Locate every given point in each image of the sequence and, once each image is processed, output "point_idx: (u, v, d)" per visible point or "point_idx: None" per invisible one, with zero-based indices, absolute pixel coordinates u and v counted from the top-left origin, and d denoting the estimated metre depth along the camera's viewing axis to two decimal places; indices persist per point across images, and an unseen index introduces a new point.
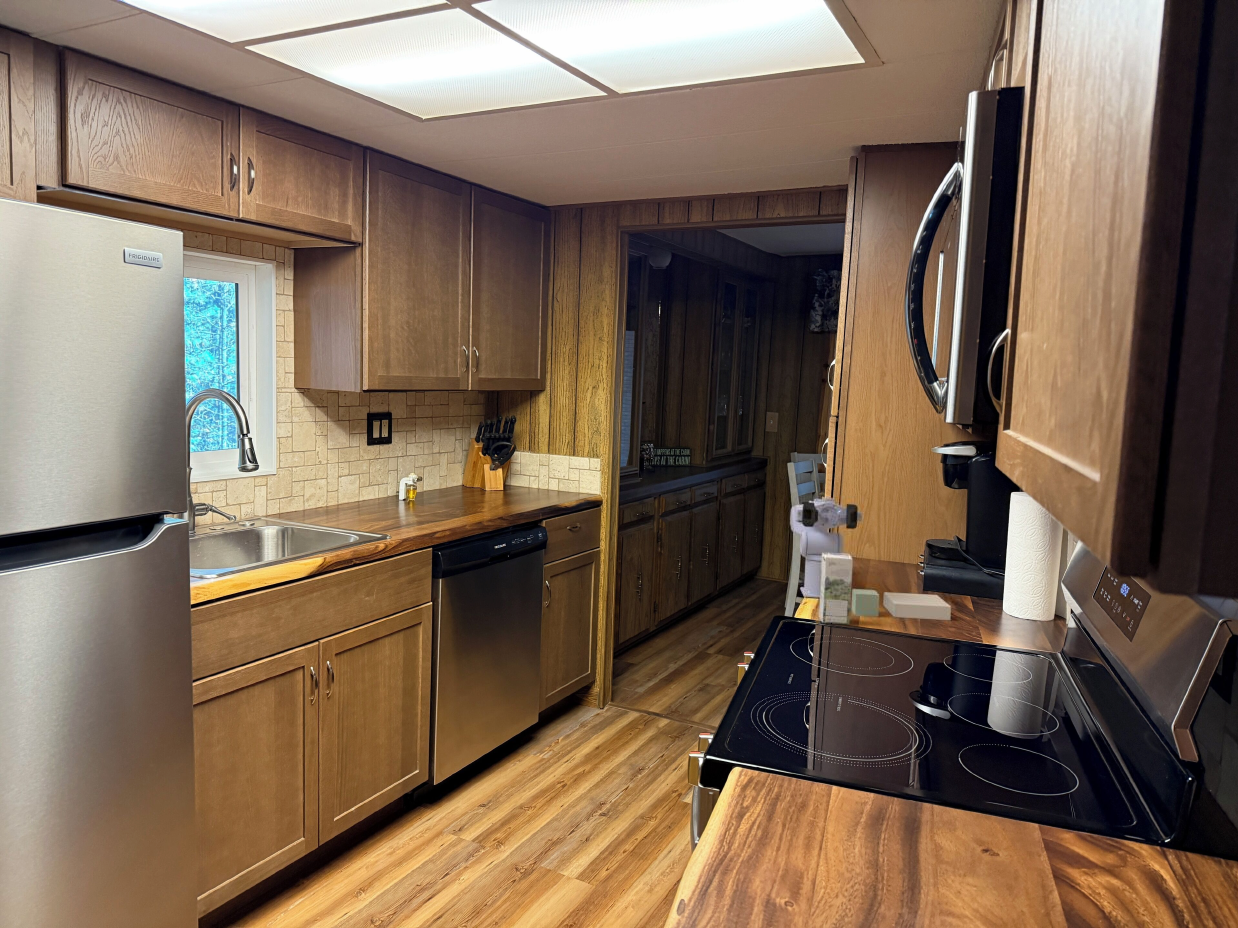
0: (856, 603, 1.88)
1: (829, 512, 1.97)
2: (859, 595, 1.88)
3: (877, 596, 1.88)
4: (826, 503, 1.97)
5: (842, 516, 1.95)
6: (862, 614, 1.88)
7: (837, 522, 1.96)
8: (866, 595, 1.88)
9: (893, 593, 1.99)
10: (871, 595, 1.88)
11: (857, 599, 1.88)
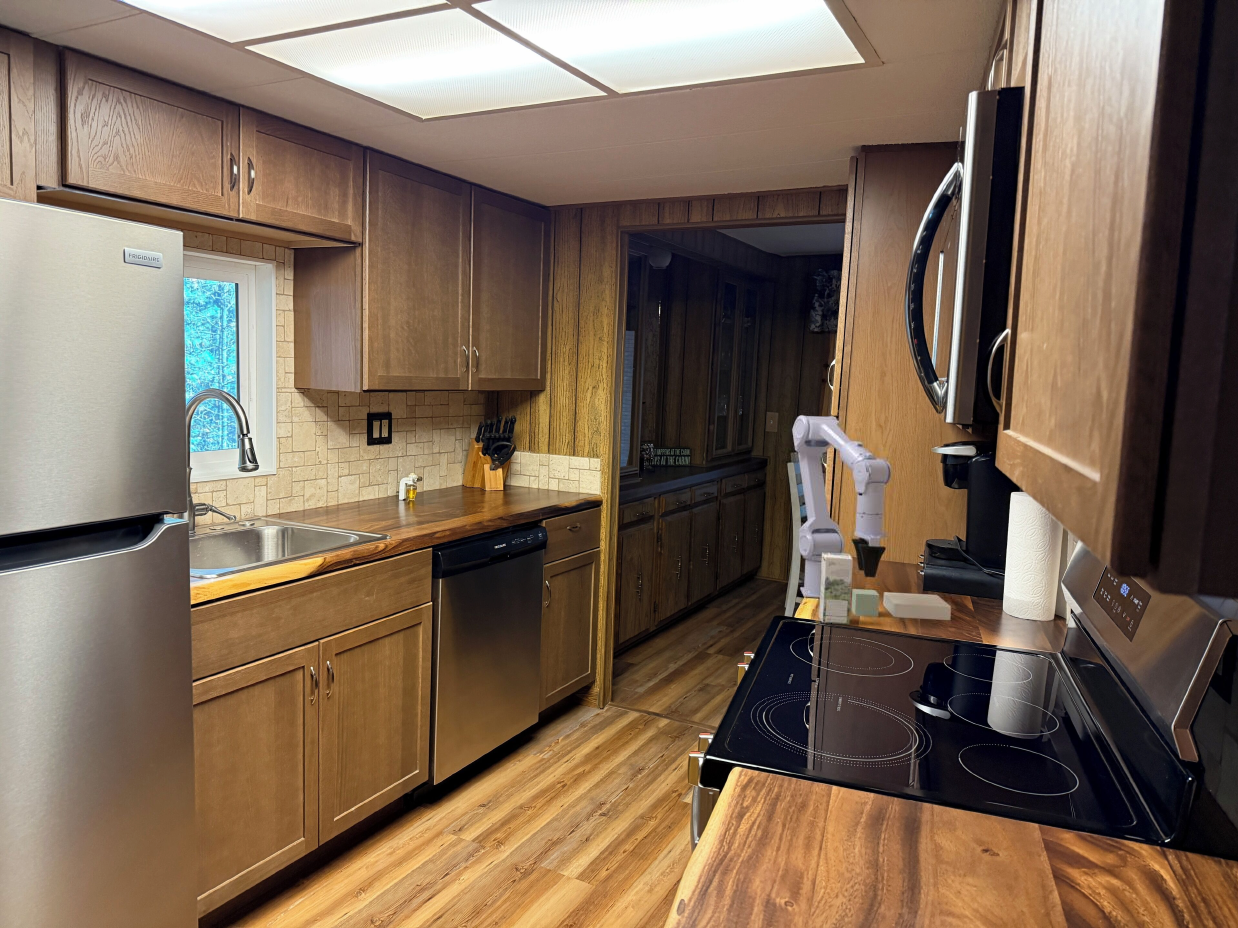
0: (856, 603, 1.88)
1: None
2: (859, 595, 1.88)
3: (877, 596, 1.88)
4: None
5: None
6: (862, 614, 1.88)
7: None
8: (866, 595, 1.88)
9: (893, 593, 1.99)
10: (871, 595, 1.88)
11: (857, 599, 1.88)
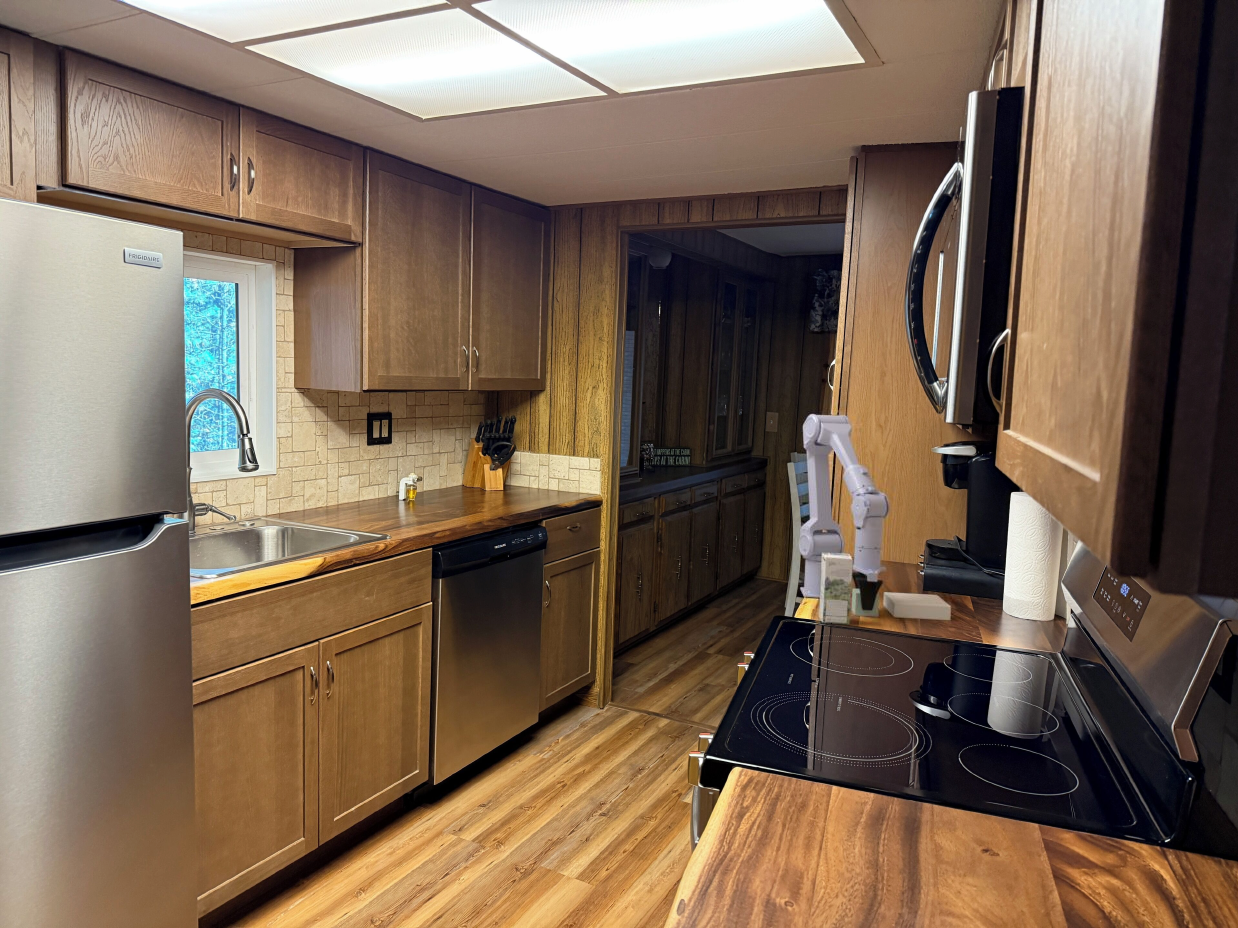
0: (856, 603, 1.88)
1: None
2: (859, 595, 1.88)
3: (877, 596, 1.88)
4: None
5: None
6: (862, 614, 1.88)
7: None
8: None
9: (893, 593, 1.99)
10: None
11: (857, 599, 1.88)
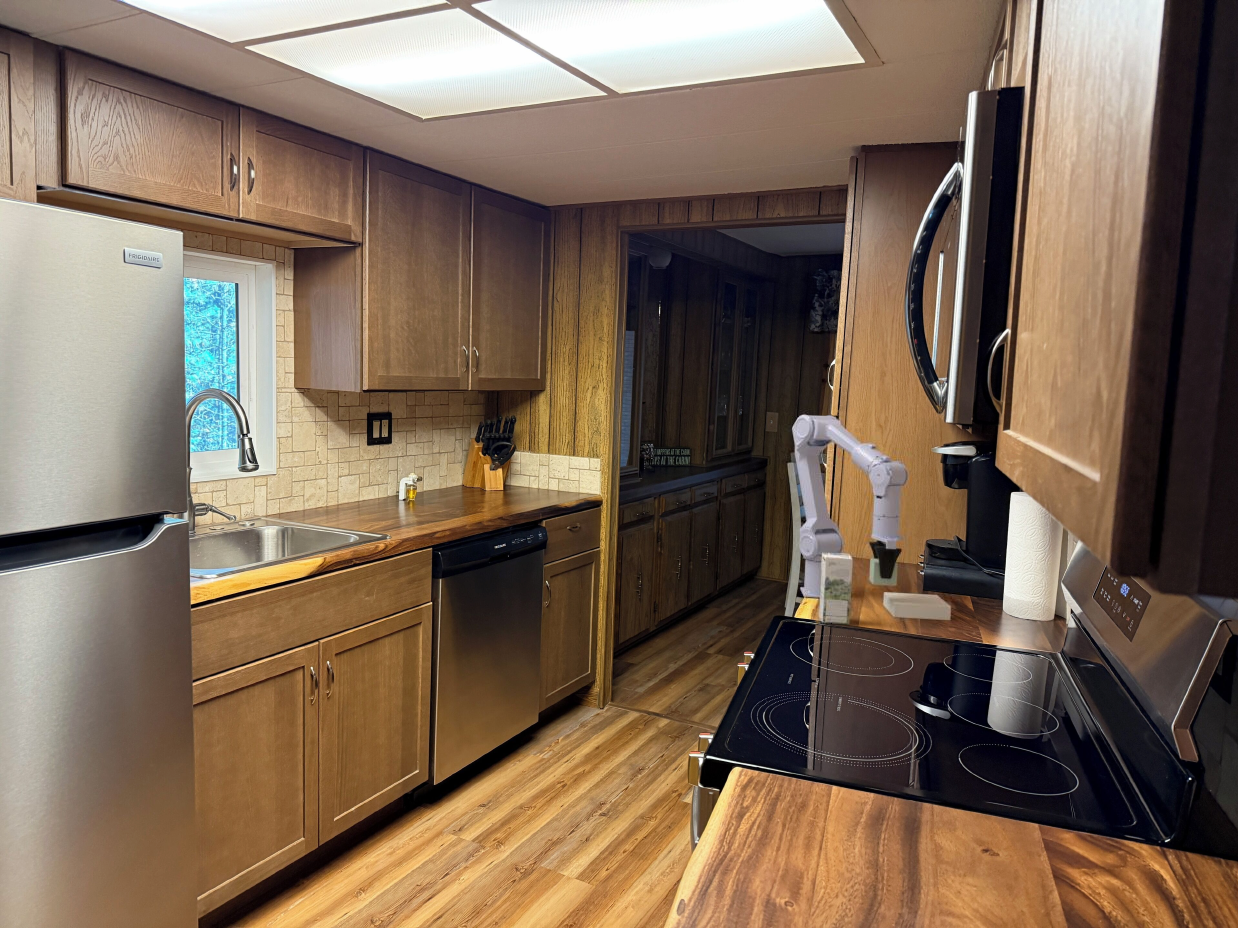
0: (874, 572, 1.89)
1: None
2: (877, 564, 1.89)
3: (895, 565, 1.88)
4: None
5: None
6: (880, 583, 1.89)
7: None
8: None
9: (893, 593, 1.99)
10: None
11: (875, 568, 1.89)
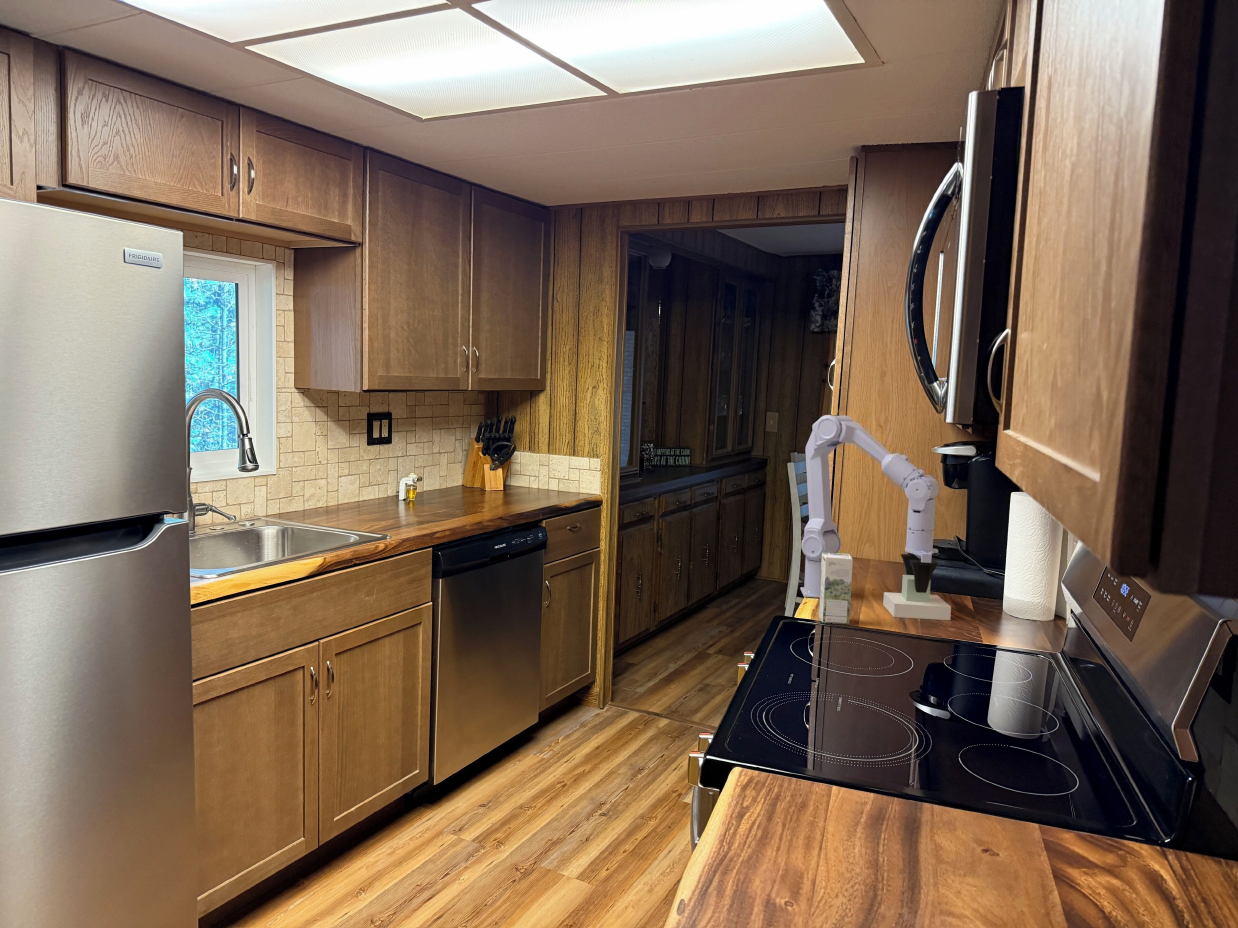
0: (907, 588, 1.91)
1: None
2: (910, 580, 1.91)
3: None
4: None
5: None
6: (913, 599, 1.91)
7: None
8: None
9: (893, 593, 1.99)
10: None
11: (908, 584, 1.91)
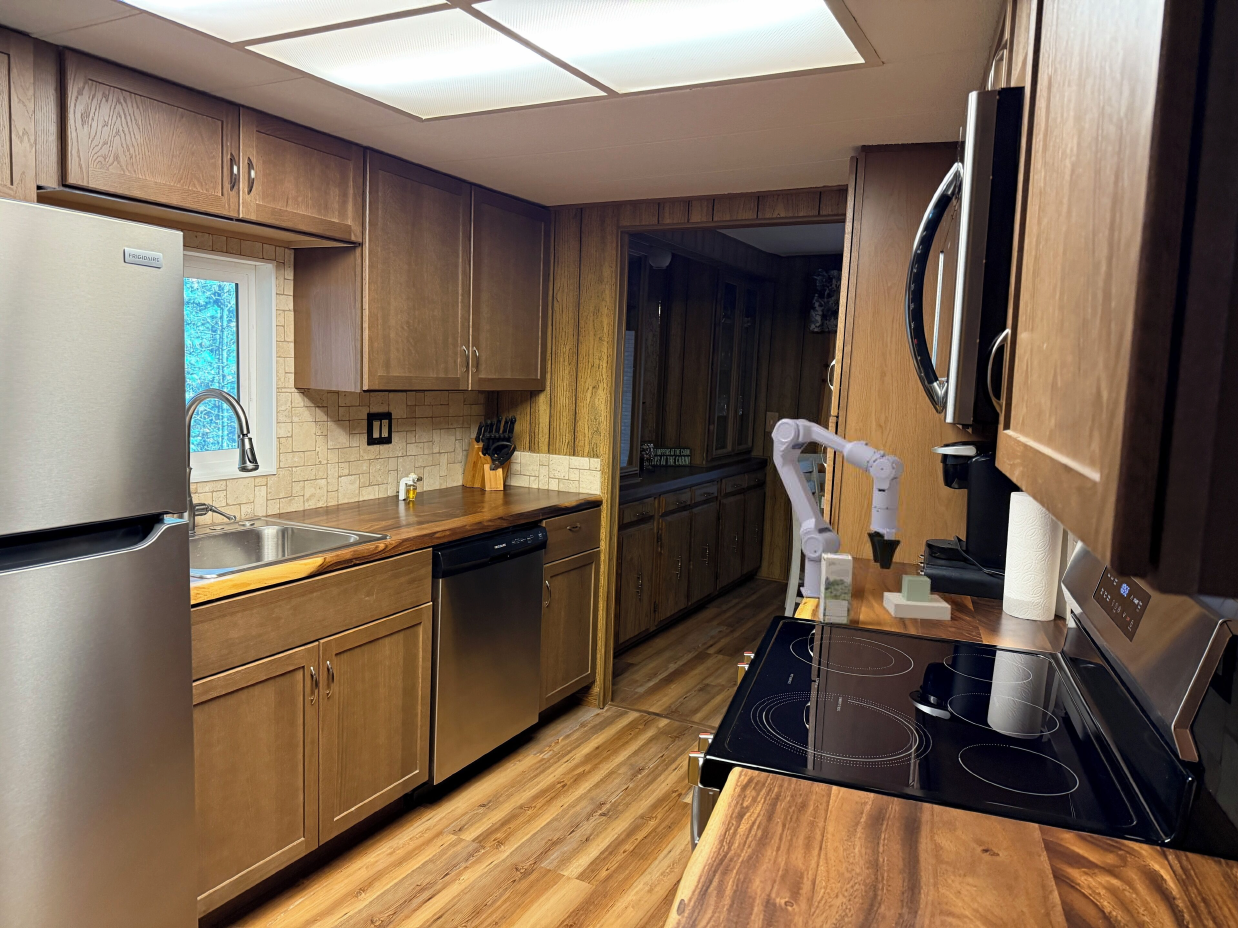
0: (907, 588, 1.91)
1: None
2: (910, 580, 1.91)
3: (928, 581, 1.90)
4: None
5: None
6: (913, 599, 1.91)
7: None
8: (917, 580, 1.90)
9: (893, 593, 1.99)
10: (922, 580, 1.90)
11: (908, 584, 1.91)
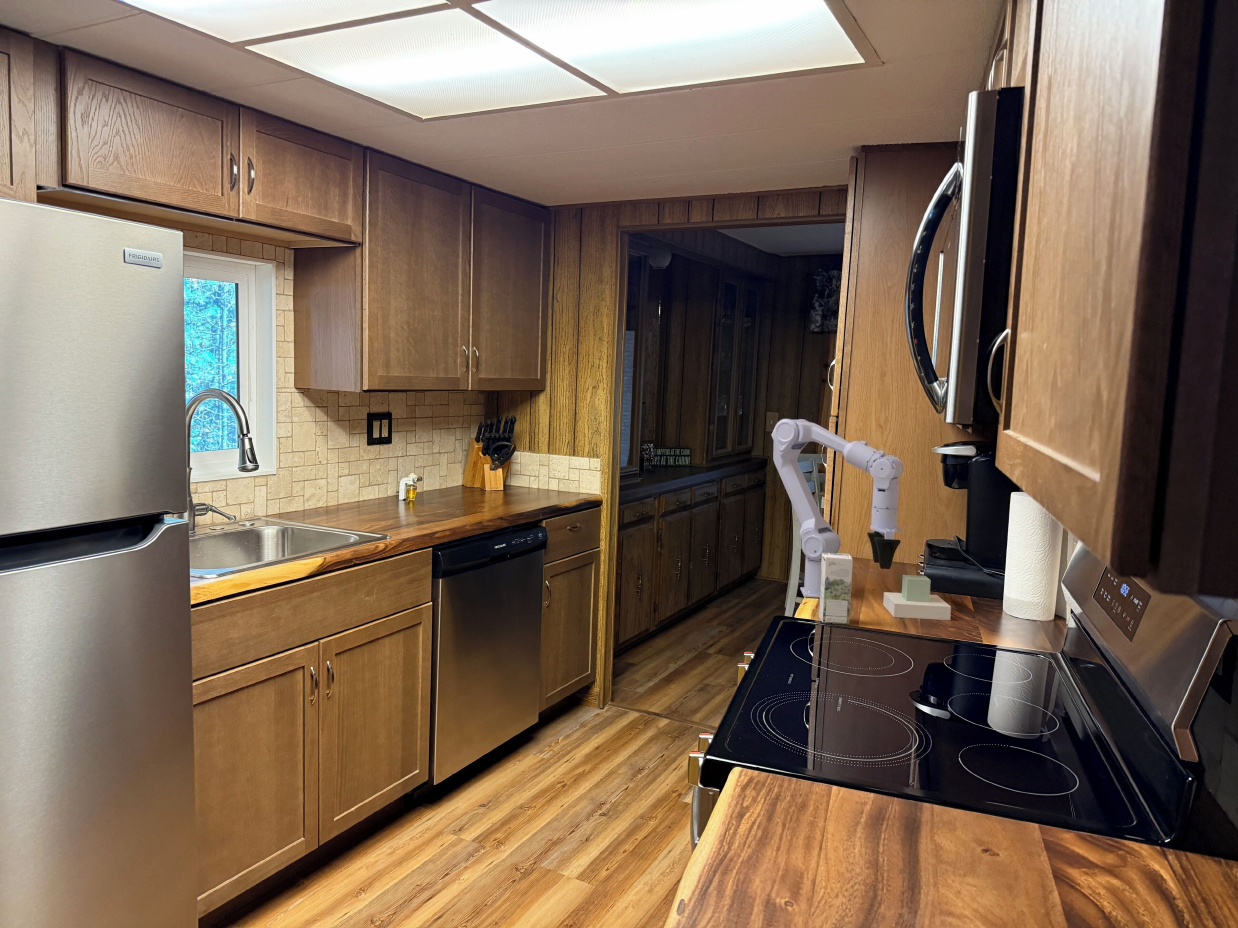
0: (907, 588, 1.91)
1: None
2: (910, 580, 1.91)
3: (928, 581, 1.90)
4: None
5: None
6: (913, 599, 1.91)
7: None
8: (917, 580, 1.90)
9: (893, 593, 1.99)
10: (922, 580, 1.90)
11: (908, 584, 1.91)
